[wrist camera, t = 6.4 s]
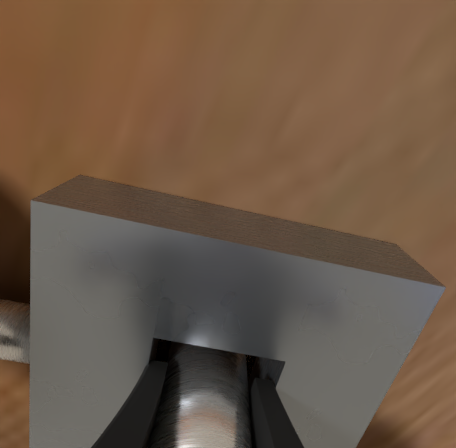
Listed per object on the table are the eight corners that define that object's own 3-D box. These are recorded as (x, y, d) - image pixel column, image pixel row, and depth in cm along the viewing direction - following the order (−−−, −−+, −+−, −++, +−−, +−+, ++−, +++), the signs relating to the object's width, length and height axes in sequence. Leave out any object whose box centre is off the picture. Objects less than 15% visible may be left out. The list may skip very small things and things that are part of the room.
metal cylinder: (252, 331, 13) (271, 513, 7) (238, 388, 14) (245, 582, 8) (173, 320, 13) (131, 500, 7) (165, 379, 14) (124, 572, 8)
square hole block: (396, 244, 12) (445, 287, 9) (300, 448, 17) (315, 520, 14) (-166, 121, 11) (-307, 129, 8) (-111, 384, 15) (-189, 450, 12)
